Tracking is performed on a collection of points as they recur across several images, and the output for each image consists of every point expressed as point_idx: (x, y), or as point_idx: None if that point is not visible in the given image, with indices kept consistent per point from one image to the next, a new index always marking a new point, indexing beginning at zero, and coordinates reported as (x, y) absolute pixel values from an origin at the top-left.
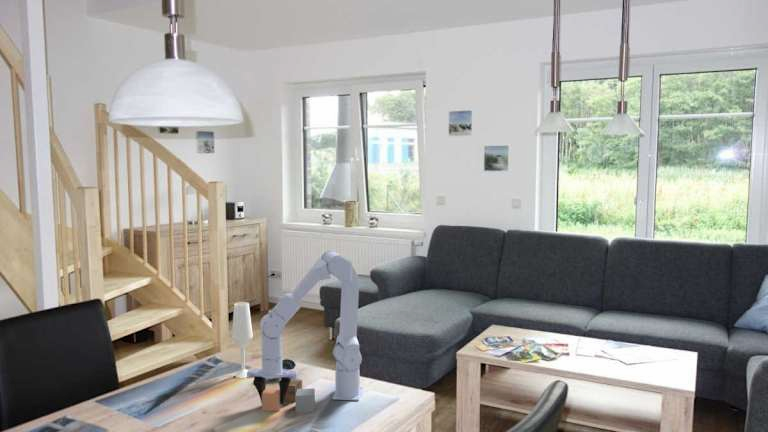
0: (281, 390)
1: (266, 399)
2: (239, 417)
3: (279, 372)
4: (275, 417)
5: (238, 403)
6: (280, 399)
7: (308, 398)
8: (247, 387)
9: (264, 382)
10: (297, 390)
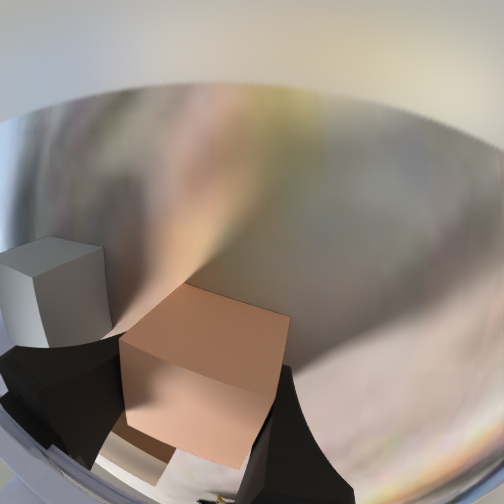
0: (90, 359)
1: (241, 350)
2: (433, 239)
3: (9, 481)
4: (196, 195)
5: (406, 407)
6: None
7: (9, 256)
8: None
9: (240, 495)
10: None
